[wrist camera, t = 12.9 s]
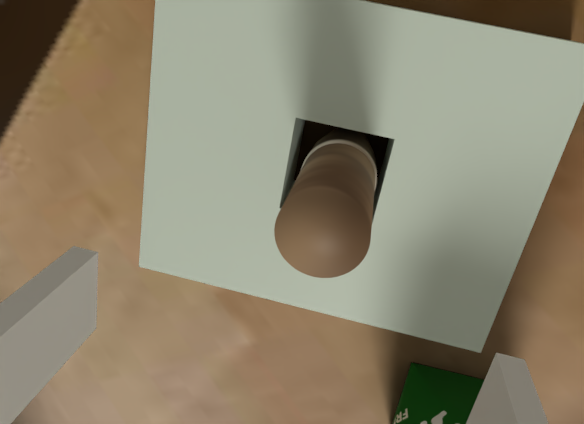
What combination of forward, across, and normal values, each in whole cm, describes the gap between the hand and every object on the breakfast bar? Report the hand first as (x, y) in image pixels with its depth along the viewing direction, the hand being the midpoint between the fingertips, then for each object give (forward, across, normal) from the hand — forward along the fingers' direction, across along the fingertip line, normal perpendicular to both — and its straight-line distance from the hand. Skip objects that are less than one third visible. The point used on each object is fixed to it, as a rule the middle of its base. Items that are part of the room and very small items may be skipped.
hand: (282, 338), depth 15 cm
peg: (+20, 0, 0) cm, 20 cm away
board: (+20, 0, 0) cm, 20 cm away
